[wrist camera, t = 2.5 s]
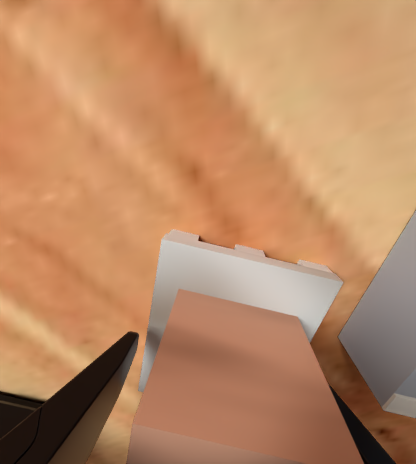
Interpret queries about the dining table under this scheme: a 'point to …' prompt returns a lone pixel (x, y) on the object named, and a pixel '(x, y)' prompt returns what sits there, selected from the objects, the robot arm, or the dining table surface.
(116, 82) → the dining table surface
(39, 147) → the dining table surface
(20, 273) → the dining table surface
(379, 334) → the dock
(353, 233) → the dining table surface
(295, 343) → the pallet
